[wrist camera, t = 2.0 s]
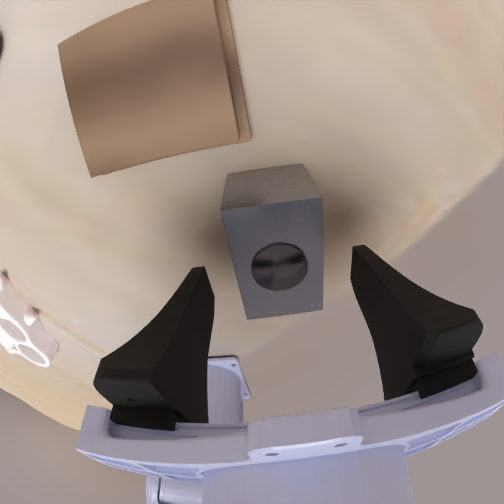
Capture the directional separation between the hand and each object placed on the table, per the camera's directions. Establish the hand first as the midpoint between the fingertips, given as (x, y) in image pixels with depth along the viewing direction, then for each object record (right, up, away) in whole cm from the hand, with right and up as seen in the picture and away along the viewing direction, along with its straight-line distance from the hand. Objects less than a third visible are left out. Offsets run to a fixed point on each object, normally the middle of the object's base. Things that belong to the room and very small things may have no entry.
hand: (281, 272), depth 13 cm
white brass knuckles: (-32, -5, +10) cm, 34 cm away
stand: (-7, +10, -1) cm, 12 cm away
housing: (0, +3, +5) cm, 6 cm away
